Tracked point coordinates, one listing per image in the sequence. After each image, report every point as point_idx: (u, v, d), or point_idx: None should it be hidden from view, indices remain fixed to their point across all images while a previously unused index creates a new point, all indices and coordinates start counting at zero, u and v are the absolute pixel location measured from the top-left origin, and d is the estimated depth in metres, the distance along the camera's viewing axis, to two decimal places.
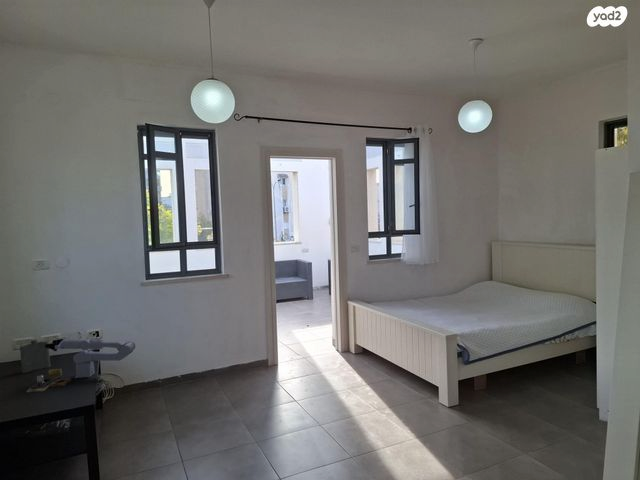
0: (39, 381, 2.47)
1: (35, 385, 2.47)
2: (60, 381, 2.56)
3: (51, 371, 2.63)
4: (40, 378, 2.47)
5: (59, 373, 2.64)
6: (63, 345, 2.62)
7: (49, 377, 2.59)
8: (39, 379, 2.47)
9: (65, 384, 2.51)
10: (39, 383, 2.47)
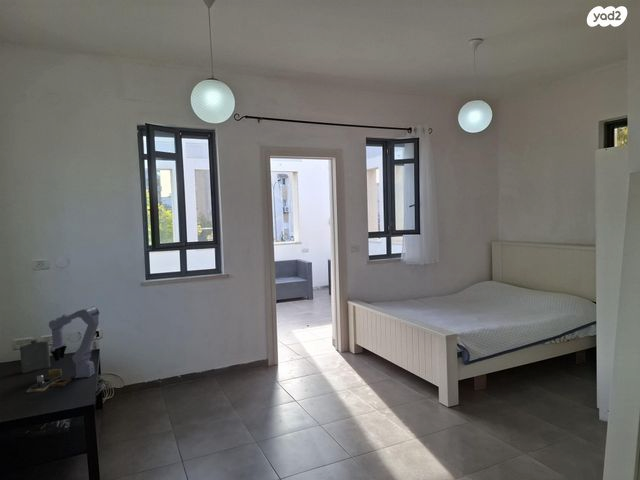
0: (39, 381, 2.47)
1: (35, 385, 2.47)
2: (60, 381, 2.56)
3: (51, 371, 2.63)
4: (40, 378, 2.47)
5: (59, 373, 2.64)
6: (55, 344, 2.66)
7: (49, 377, 2.59)
8: (39, 379, 2.47)
9: (65, 384, 2.51)
10: (39, 383, 2.47)
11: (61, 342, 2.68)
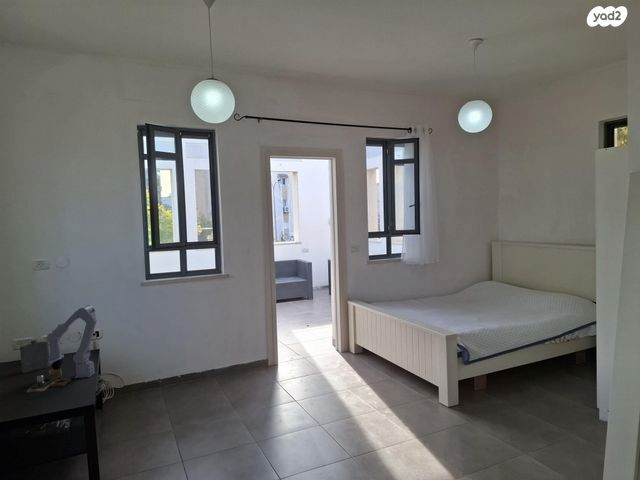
0: (39, 381, 2.47)
1: (35, 385, 2.47)
2: (60, 381, 2.56)
3: (51, 371, 2.63)
4: (40, 378, 2.47)
5: (59, 373, 2.64)
6: (53, 358, 2.63)
7: (49, 377, 2.59)
8: (39, 379, 2.47)
9: (65, 384, 2.51)
10: (39, 383, 2.47)
11: (59, 355, 2.65)
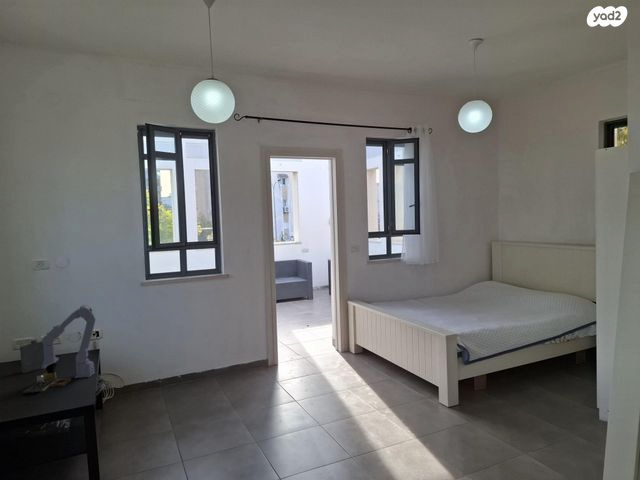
0: (39, 381, 2.47)
1: (29, 389, 2.41)
2: (60, 381, 2.56)
3: (45, 375, 2.57)
4: (40, 378, 2.47)
5: (54, 377, 2.58)
6: (47, 361, 2.56)
7: None
8: (39, 379, 2.47)
9: (65, 384, 2.51)
10: (39, 383, 2.47)
11: (53, 358, 2.58)
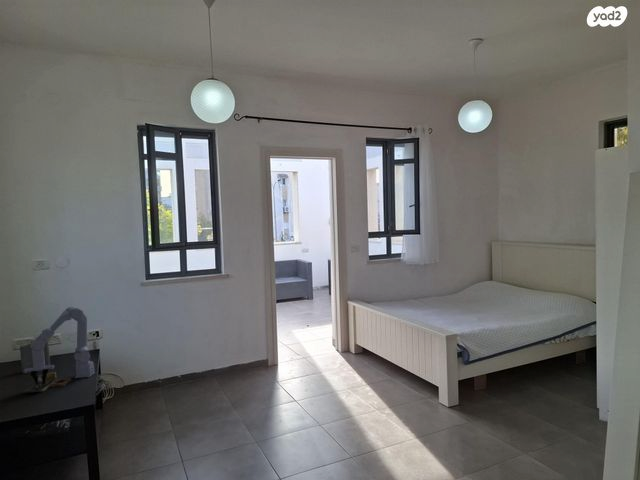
0: (39, 381, 2.47)
1: (29, 389, 2.41)
2: (60, 381, 2.56)
3: None
4: (40, 378, 2.47)
5: (54, 377, 2.58)
6: None
7: None
8: (39, 379, 2.47)
9: (65, 384, 2.51)
10: (39, 383, 2.47)
11: (36, 366, 2.45)
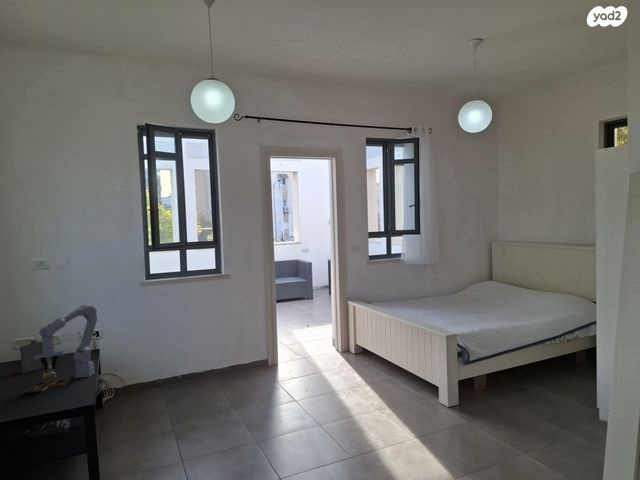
0: (49, 367, 2.49)
1: (29, 389, 2.41)
2: (60, 381, 2.56)
3: (45, 375, 2.57)
4: (50, 364, 2.50)
5: (54, 377, 2.58)
6: (43, 353, 2.49)
7: (43, 381, 2.53)
8: (49, 365, 2.49)
9: (65, 384, 2.51)
10: (49, 369, 2.49)
11: (46, 352, 2.47)
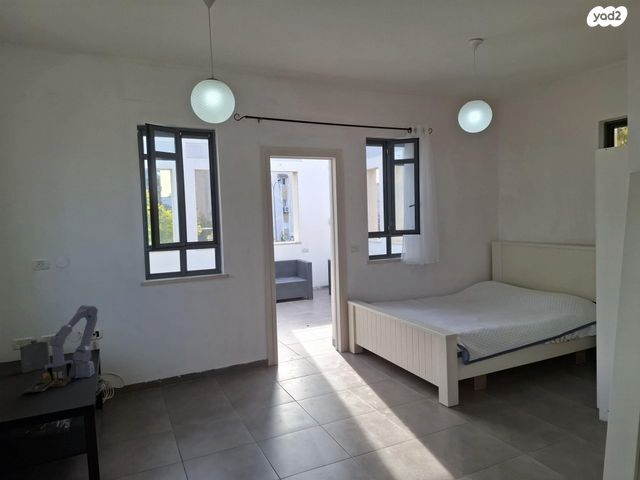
0: (60, 377, 2.52)
1: (29, 389, 2.41)
2: None
3: (45, 375, 2.57)
4: (61, 374, 2.52)
5: (54, 377, 2.58)
6: (53, 362, 2.51)
7: (43, 381, 2.53)
8: (60, 375, 2.52)
9: (65, 384, 2.51)
10: (60, 379, 2.52)
11: (57, 361, 2.50)
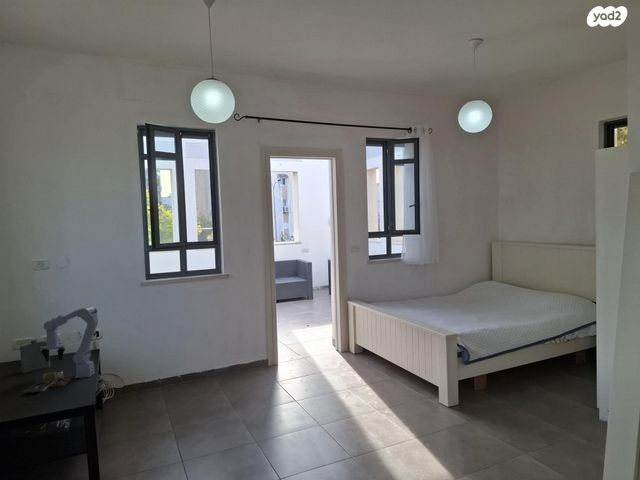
0: (60, 377, 2.52)
1: (29, 389, 2.41)
2: None
3: (45, 375, 2.57)
4: (61, 374, 2.52)
5: (54, 377, 2.58)
6: None
7: (43, 381, 2.53)
8: (60, 375, 2.52)
9: (65, 384, 2.51)
10: (60, 379, 2.52)
11: (48, 344, 2.64)
